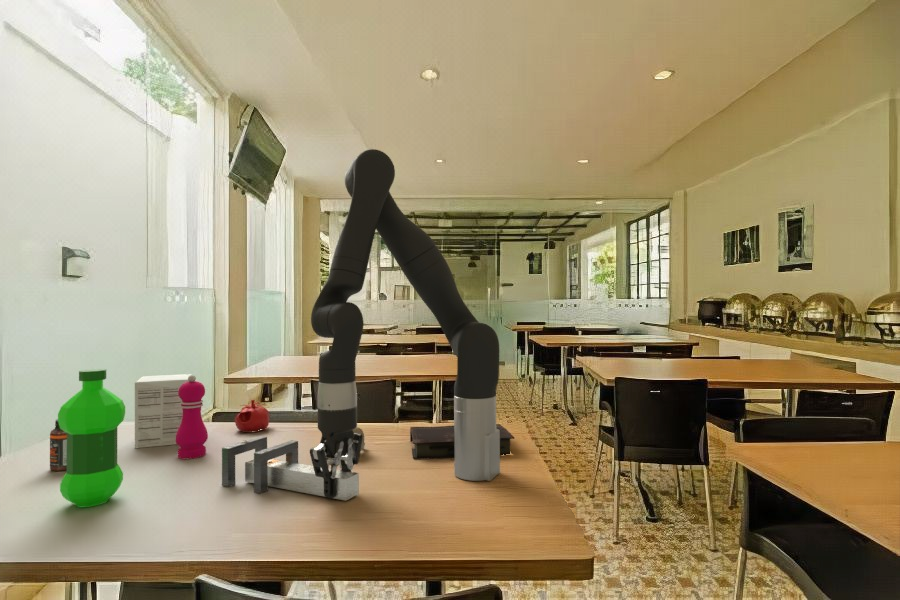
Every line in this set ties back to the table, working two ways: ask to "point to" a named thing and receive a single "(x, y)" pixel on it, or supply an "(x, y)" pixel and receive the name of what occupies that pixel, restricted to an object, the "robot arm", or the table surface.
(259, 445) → the collar
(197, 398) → the pepper mill
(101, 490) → the plastic bottle
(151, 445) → the supplement box
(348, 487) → the orange banded bar
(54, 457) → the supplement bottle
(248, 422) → the pomegranate
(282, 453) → the collar
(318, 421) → the robot arm
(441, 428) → the diary
